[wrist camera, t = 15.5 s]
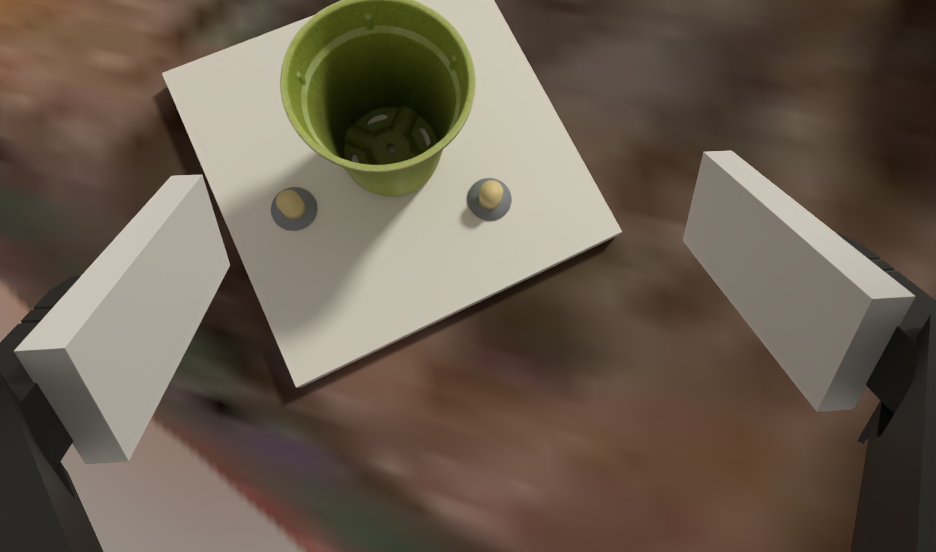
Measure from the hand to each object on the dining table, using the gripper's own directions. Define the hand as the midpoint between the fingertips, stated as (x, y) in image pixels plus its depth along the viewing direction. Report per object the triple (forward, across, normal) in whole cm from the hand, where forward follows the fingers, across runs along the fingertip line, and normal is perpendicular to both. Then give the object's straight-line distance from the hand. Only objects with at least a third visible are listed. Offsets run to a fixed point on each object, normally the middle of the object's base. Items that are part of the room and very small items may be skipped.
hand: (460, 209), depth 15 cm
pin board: (+21, -3, -7) cm, 23 cm away
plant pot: (+21, -3, -6) cm, 22 cm away
